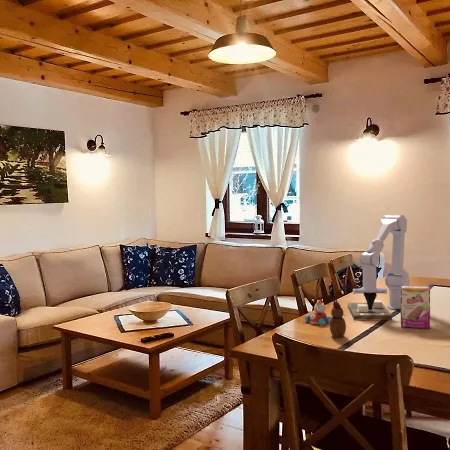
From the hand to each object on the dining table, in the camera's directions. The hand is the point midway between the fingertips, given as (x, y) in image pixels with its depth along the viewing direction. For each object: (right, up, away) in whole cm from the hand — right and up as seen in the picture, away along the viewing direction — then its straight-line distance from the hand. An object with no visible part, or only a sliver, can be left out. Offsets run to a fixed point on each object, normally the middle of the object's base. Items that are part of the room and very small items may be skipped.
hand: (370, 309), depth 217 cm
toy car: (-24, -5, -7) cm, 26 cm away
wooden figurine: (-21, -6, -28) cm, 35 cm away
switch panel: (+1, -3, +5) cm, 6 cm away
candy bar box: (+13, -4, -20) cm, 24 cm away
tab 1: (-3, -1, 0) cm, 3 cm away
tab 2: (+5, 0, +7) cm, 9 cm away
